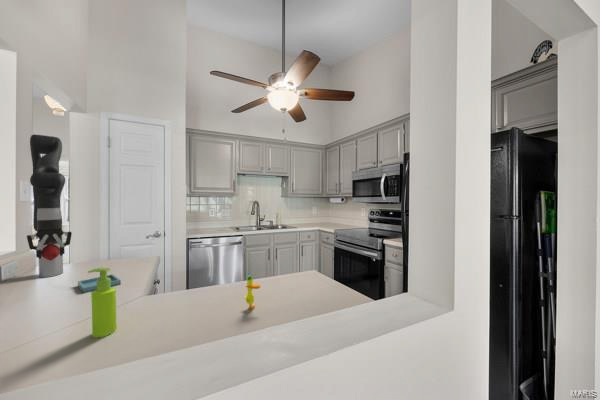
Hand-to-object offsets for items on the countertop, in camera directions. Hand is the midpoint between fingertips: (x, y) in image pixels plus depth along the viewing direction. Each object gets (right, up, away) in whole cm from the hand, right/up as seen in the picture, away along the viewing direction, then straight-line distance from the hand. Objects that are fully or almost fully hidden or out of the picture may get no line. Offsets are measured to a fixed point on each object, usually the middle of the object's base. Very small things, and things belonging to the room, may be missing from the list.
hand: (50, 256), depth 107 cm
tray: (+13, -16, +10) cm, 23 cm away
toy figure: (+91, -16, -15) cm, 93 cm away
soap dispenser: (+47, -17, -31) cm, 59 cm away
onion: (0, -2, 0) cm, 2 cm away
